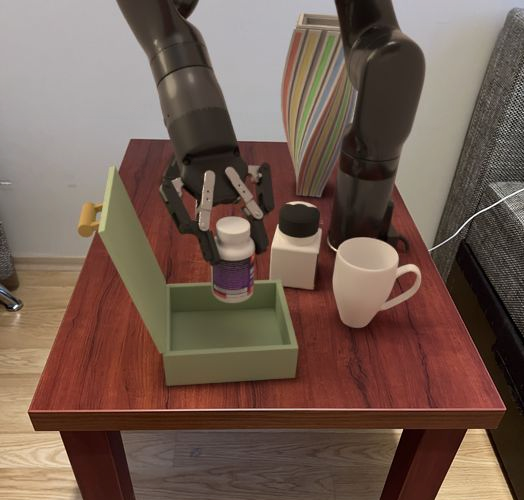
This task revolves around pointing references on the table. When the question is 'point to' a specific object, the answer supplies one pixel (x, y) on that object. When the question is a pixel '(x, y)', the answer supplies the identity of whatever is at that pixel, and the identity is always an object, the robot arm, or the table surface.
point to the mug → (367, 279)
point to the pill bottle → (233, 261)
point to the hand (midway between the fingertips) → (239, 257)
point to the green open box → (228, 335)
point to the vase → (315, 100)
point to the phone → (171, 170)
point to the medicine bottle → (296, 246)
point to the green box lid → (129, 254)
